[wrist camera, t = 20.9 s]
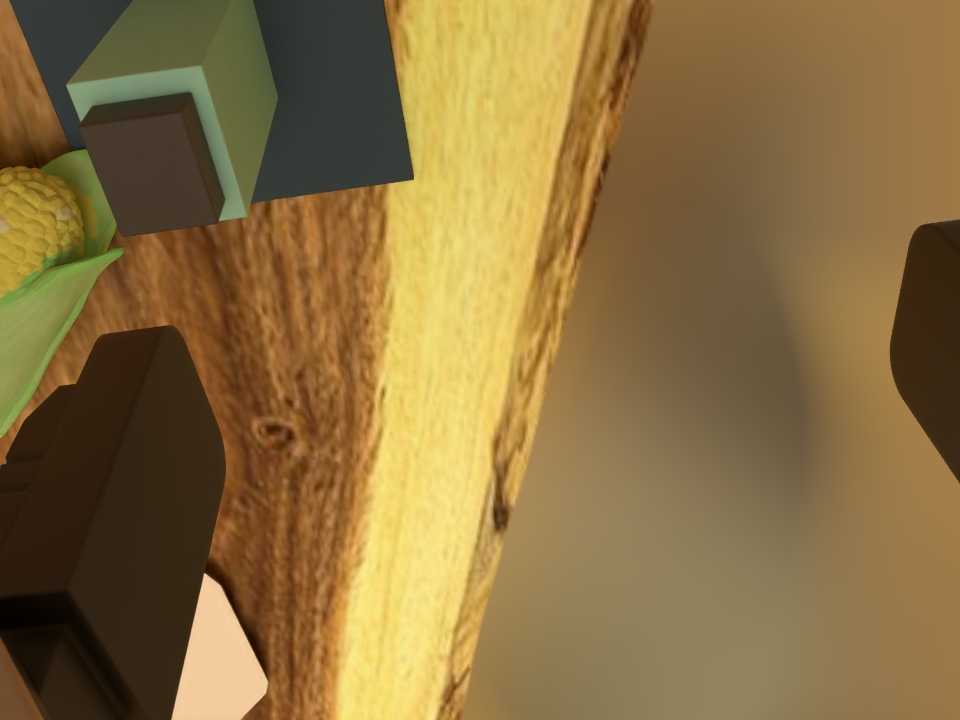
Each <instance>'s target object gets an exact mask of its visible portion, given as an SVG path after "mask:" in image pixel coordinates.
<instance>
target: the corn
mask: <svg viewBox="0 0 960 720" xmlns="http://www.w3.org/2000/svg"><path fill="white" fill-rule="evenodd" d="M117 227H118V226H117V224H116V221H115V219H114V216H113V214H112V211H111V209H110V206H109V204H108V201H107V199H106V196H105V194H104V192H103V189H102V187H101V184H100V182H99V179H98V177H97V174H96V172H95V169H94V167H93V164H92V162H91V159H90V157H89V154H88V152H87V149H84V150H76V151H72V152H69V153H66V154H63V155H61V156H59V157H58V158H56V159H54V160H53V161H51V162H49V163H48V164H46V165H44V166H43V167H42V168H41V169H37V168H31V169H29V168H28V167H24V166H16V167H15V168H12V167H7V168H3V169H2V170H0V439H1V437H2V436H3V435H4V434H5V433H6V432H7V431H8V429H9V428H10V427H11V425H12V424H13V423H14V421H15V420H16V419H17V417H18V416H19V415H20V413H21V412H22V410H23V409H24V407H25V406H26V404H27V403H28V402H29V400H30V399H31V397H32V395H33V394H34V392H35V390H36V389H37V387H38V385H39V383H40V381H41V379H42V377H43V375H44V373H45V371H46V369H47V367H48V365H49V363H50V362H51V360H52V358H53V357H54V355H55V353H56V351H57V350H58V348H59V346H60V345H61V343H62V341H63V340H64V338H65V336H66V335H67V333H68V331H69V330H70V328H71V326H72V325H73V323H74V321H75V319H76V318H77V316H78V315H79V313H80V312H81V310H82V309H83V307H84V304H85V301H86V298H87V296H88V293H89V291H90V290H91V288H92V287H93V285H94V283H95V281H96V279H97V277H98V275H99V274H100V273H101V272H102V271H103V270H104V269H105V268H106V267H107V266H108V265H109V264H110V263H112V262H113V261H115V260H116V259H117V258H119V257H120V256H121V255H122V254H123V253H124V247H117V248H114V249H112V250H110V251H107V249H108V246H109V244H110V242H111V240H112V238H113V235H114V233H115V231H116V229H117Z"/></svg>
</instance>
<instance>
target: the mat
mask: <svg viewBox="0 0 960 720" xmlns="http://www.w3.org/2000/svg"><path fill="white" fill-rule="evenodd" d="M132 1H133V0H10V3H11V5H12V8H13V10H14V12H15V15H16V17H17V20H18V22H19V24H20V27H21V29H22V32H23V34H24V36H25V39H26V41H27V44H28V46H29V49H30V51H31V53H32V56H33V58H34V61H35V63H36V65H37V68H38V70H39V73H40V75H41V77H42V80H43V82H44V85H45V87H46V89H47V92H48V94H49V97H50V99H51V102H52V104H53V106H54V109H55V111H56V114H57V116H58V118H59V121H60V123H61V126H62V128H63V130H64V133H65V135H66V138H67V140H68V142H69V145H70V147H71V150H72V151H76V150H84V149H86V147H85V145H84V142H83V140H82V137H81V135H80V132H79V130H78V126H79V124H80V123H81V121H80V119H79V116H78V114H77V111H76V109H75V106H74V104H73V101H72V99H71V96H70V94H69V91H68V89H67V86H66V84H67V83H68V82H69V80H70V79H71V78H72V77H73V75H74V74H75V73H76V72H77V70H78V69H79V68H80V67H81V65H82V64H83V63H84V61H85V60H86V59H87V58H88V56H89V55H90V54H91V53H92V51H93V50H94V49H95V48H96V46H97V45H98V44H99V43H100V41H101V40H102V39H103V37H104V36H105V35H106V34H107V32H108V31H109V30H110V29H111V27H112V26H113V25H114V24H115V22H116V21H117V20H118V18H119V17H120V16H121V15H122V13H123V12H124V11H125V10H126V8H127V7H128V6H129V5H130V3H131V2H132ZM253 2H254V6H255V10H256V14H257V17H258V21H259V25H260V29H261V33H262V37H263V41H264V45H265V48H266V52H267V56H268V60H269V64H270V68H271V72H272V76H273V80H274V83H275V87H276V91H277V95H278V101H277V104H276V108H275V112H274V116H273V120H272V124H271V127H270V131H269V135H268V139H267V143H266V147H265V150H264V154H263V158H262V162H261V166H260V169H259V173H258V177H257V181H256V185H255V189H254V192H253V196H252V200H251V203H253V202H260V201H267V200H274V199H281V198H288V197H295V196H302V195H310V194H317V193H324V192H331V191H338V190H345V189H352V188H359V187H366V186H373V185H380V184H387V183H394V182H401V181H408V180H414V175H413V169H412V163H411V157H410V152H409V146H408V140H407V134H406V129H405V123H404V117H403V111H402V105H401V100H400V94H399V88H398V82H397V77H396V71H395V65H394V59H393V54H392V48H391V42H390V36H389V30H388V25H387V19H386V13H385V7H384V2H383V0H253Z"/></svg>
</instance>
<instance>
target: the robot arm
mask: <svg viewBox="0 0 960 720" xmlns="http://www.w3.org/2000/svg"><path fill="white" fill-rule="evenodd" d="M890 362H891V369H892V374H893V378H894V381H895V384H896V387H897V389H898V391H899V394H900V395H901V397H902V399H903V400H904V402H905V403H906V405H907V406H908V407H909V409H910V410H911V412H912V414H913V415H914V416H915V418H916V419H917V421H918V422H919V424H920V425H921V427H922V428H923V430H924V431H925V433H926V434H927V436H928V437H929V438H930V440H931V442H932V443H933V444H934V446H935V447H936V449H937V450H938V452H939V453H940V455H941V456H942V458H943V459H944V461H945V462H946V464H947V465H948V466H949V468H950V470H951V471H952V473H953V474H954V475H955V477H956V478H957V480H958V481H959V483H960V220H952V221H945V222H938V223H930V224H925V225H921V226H920V227H918V229H916V231H915V232H914V234H913V236H912V238H911V241H910V244H909V248H908V253H907V258H906V264H905V269H904V274H903V279H902V284H901V289H900V294H899V299H898V305H897V310H896V315H895V320H894V326H893V330H892V336H891V342H890ZM6 461H7V463H6V464H4V465H1V467H0V720H171V719H172V715H173V710H174V706H175V701H176V697H177V693H178V688H179V684H180V679H181V675H182V670H183V666H184V662H185V657H186V653H187V648H188V644H189V639H190V635H191V630H192V626H193V622H194V617H195V613H196V608H197V604H198V599H199V595H200V590H201V586H202V582H203V577H204V573H205V568H206V564H207V559H208V555H209V551H210V546H211V542H212V537H213V533H214V528H215V524H216V519H217V515H218V511H219V506H220V502H221V497H222V493H223V488H224V483H225V475H226V461H225V451H224V444H223V440H222V436H221V432H220V429H219V426H218V424H217V421H216V419H215V416H214V414H213V411H212V408H211V406H210V403H209V401H208V398H207V396H206V393H205V391H204V388H203V386H202V383H201V381H200V378H199V376H198V373H197V371H196V368H195V366H194V363H193V361H192V358H191V356H190V353H189V351H188V348H187V345H186V343H185V341H184V339H183V337H182V335H181V333H180V332H179V331H178V329H176V328H175V327H174V326H172V325H167V326H160V327H153V328H145V329H138V330H131V331H123V332H116V333H109V334H103V335H101V336H100V337H99V338H98V339H97V341H96V342H95V344H94V346H93V349H92V351H91V353H90V355H89V357H88V359H87V362H86V364H85V366H84V368H83V370H82V372H81V374H80V377H79V379H78V381H77V383H76V384H71V385H64V386H59V387H58V388H57V389H56V390H55V391H54V392H53V393H52V394H51V395H50V396H49V397H48V398H47V399H46V400H45V401H44V402H43V403H42V404H41V405H40V406H39V407H38V408H37V409H36V410H35V411H34V412H32V413H31V414H30V415H29V416H28V417H27V418H26V419H25V420H24V422H23V424H22V426H21V428H20V430H19V432H18V434H17V436H16V438H15V440H14V442H13V444H12V446H11V448H10V450H9V452H8V453H7V455H6Z"/></svg>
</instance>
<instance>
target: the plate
mask: <svg viewBox="0 0 960 720" xmlns="http://www.w3.org/2000/svg"><path fill="white" fill-rule="evenodd" d="M267 686H268V677H267V675H266V673H265V671H264V669H263V667H262V665H261V663H260V661H259V659H258V657H257V655H256V653H255V651H254V649H253V647H252V645H251V643H250V641H249V639H248V637H247V635H246V633H245V631H244V629H243V627H242V625H241V622H240V620H239V618H238V616H237V614H236V612H235V610H234V608H233V606H232V604H231V602H230V600H229V598H228V596H227V594H226V592H225V590H224V588H223V586H222V584H221V582H219V581H218V580H217V579H215V578H214V577H213V576H212V575H210V574H209V573H208V572H207V571H205V573H204V577H203V582H202V586H201V590H200V595H199V599H198V604H197V608H196V613H195V617H194V622H193V626H192V630H191V635H190V639H189V644H188V648H187V653H186V657H185V662H184V666H183V670H182V675H181V679H180V684H179V688H178V693H177V697H176V701H175V706H174V710H173V715H172V719H171V720H241V718H242V717H243V716H244V715H245V714H246V713H247V712H248V711H249V710H250V709H251V708H252V707H253V706H254V705H255V704H256V703H257V702H258V701H259V700H260V699H261V698H262V697H263V696H264V695H265V694H266V691H267Z"/></svg>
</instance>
